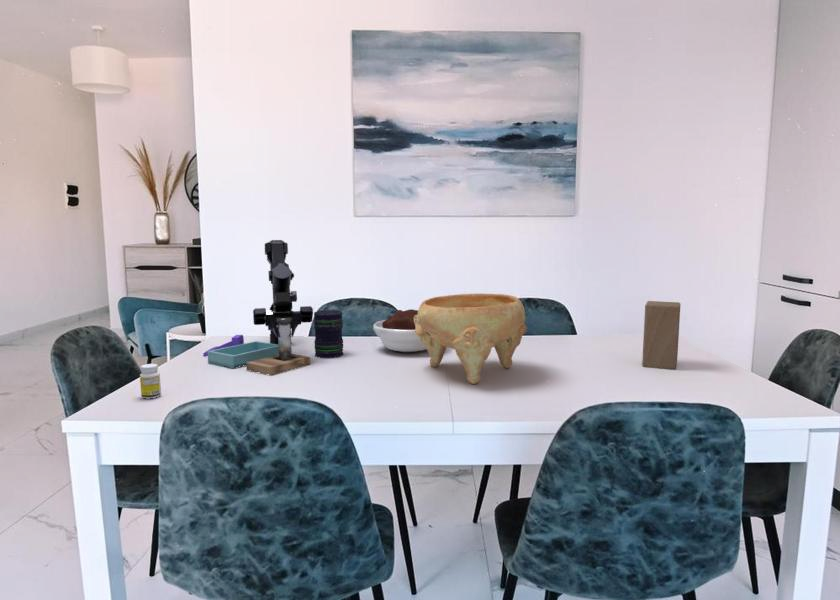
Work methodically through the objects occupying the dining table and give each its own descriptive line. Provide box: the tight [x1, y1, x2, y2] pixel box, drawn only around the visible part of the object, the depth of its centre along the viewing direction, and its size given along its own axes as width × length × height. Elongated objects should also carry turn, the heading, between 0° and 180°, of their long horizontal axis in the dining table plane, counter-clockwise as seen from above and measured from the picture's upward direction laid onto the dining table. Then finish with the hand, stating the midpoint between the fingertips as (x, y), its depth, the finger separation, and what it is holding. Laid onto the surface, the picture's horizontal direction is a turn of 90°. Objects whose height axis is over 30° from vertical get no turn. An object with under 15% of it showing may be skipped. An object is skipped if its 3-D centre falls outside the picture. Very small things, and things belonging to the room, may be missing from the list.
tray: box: [207, 340, 279, 369], centre depth 191 cm, size 20×13×4 cm, turn 146°
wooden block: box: [641, 300, 681, 371], centre depth 182 cm, size 10×10×20 cm
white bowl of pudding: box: [373, 308, 427, 353], centre depth 205 cm, size 25×25×15 cm
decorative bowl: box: [414, 293, 528, 385], centre depth 175 cm, size 34×35×23 cm
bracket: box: [202, 334, 245, 358], centre depth 200 cm, size 12×7×7 cm, turn 91°
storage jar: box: [313, 309, 344, 359], centre depth 197 cm, size 10×10×15 cm
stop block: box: [245, 353, 311, 376], centre depth 181 cm, size 16×11×2 cm, turn 146°
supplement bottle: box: [139, 363, 162, 400], centre depth 150 cm, size 5×5×8 cm
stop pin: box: [276, 316, 293, 359], centre depth 182 cm, size 5×5×13 cm
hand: (284, 336), depth 181 cm, fingers closed on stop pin, 4 cm apart
